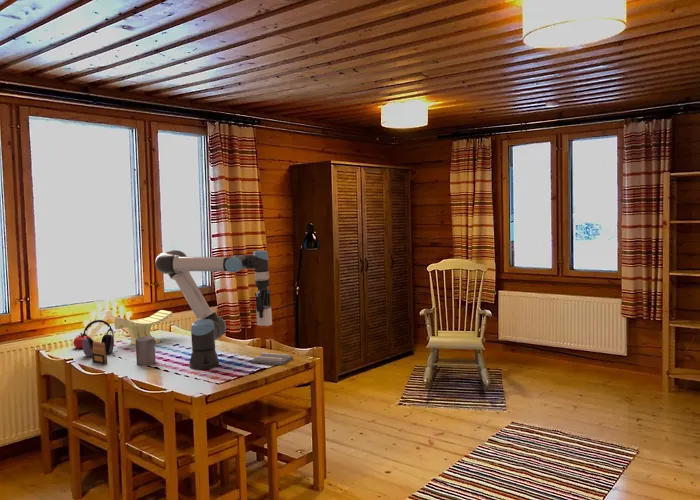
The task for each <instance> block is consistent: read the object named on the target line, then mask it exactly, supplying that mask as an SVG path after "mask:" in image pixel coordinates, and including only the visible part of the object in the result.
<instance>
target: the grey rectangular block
mask: <svg viewBox="0 0 700 500" xmlns="http://www.w3.org/2000/svg"><path fill="white" fill-rule="evenodd" d="M263 312H264V314H265V324H260V318H259V312H257V308H256V307H255V313H256V326H263V327H269V326H272V325H273V316H272V315H273V313H272V305H271V306H264V309H263Z"/></svg>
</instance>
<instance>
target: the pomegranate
mask: <svg viewBox="0 0 700 500" xmlns="http://www.w3.org/2000/svg"><path fill="white" fill-rule="evenodd" d="M79 334H80V335H76V336H75V338H74V340H73V342H72V343H73V346H74V348H75V349H78V350H83V347H82V340H83V339H85V338H86V339H87V337H86V336H85V335H84V336H83V339H82V334H83V332H80V333H79ZM87 336H88V338H91V336H89V335H87ZM91 339H92V338H91Z"/></svg>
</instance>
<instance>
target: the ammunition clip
mask: <svg viewBox="0 0 700 500" xmlns="http://www.w3.org/2000/svg"><path fill="white" fill-rule="evenodd" d="M107 354H108V353H107V352H106V349H105V344H104V342H103V343H102V342H101V341H100V340H99V341H98V340H93V353H92V356H91V357H92V363H95V364H98V365H99V364H100V365H108V355H107Z"/></svg>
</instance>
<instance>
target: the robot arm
mask: <svg viewBox="0 0 700 500" xmlns="http://www.w3.org/2000/svg"><path fill="white" fill-rule="evenodd" d="M268 254H269V253H268V251H267V250H254V251H253V253H252V254H236V255H233V256H187V254H186V253H184V252H183V251H181V250H170V251H164V252H161V253H159V254H158V256H156V258H155V261H154V266H155V268H156V270H157V271H158V272H159V273H161V274H162V275H163V274H165V275H168V276H169V278H170V280H173V281H175V283H176V284H177V286H178V288H179V289H180V291H181V293H182V296H184V298H185V300H186V302H187V304H188V305H189V307H190V309H191V311H192V312H193V314H194V315H195V317H196V320H195V321H193V322H192V323H191V325H190V327H191V328H190V332H191V333H190V336H191V356H190V359H189V362H188V363H189V364H188V365H189V368H190V369H193V370H208V369H213V368H216V367H218V366H220V359H219V357H218V354H217V353H218V352H216V340H219V338H221V337H222V336H224V334H225V333H226V329H227V325H226V321H225V320H224V319H223V318H222V317H221V316H219V315H218V314H217V312H216V311H214V310H212V309H211V308H210V306H209V304H208V303H207V301H206V299H205V297H204V296H203V294H202V291H201V290H200V288H199V287H198V285H197V283H196V281H195V279H194V278H193V277H192V274H191V272H225V273H226V272H227V273H237V272H240V271H243V270H254V279H255V281H254V283H255V284H254V285H255V286H254V287H255V288H257V292H255V293H254V296H255V306H256V307H255V309H256V308H257V312H259V318H260V324H265V314H264V312H263V309H264V306H271V307H272V305H271V289H269V287H270V280H269V279H270V272H269V271H270V268H269V267H270V266H269V255H268Z"/></svg>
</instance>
